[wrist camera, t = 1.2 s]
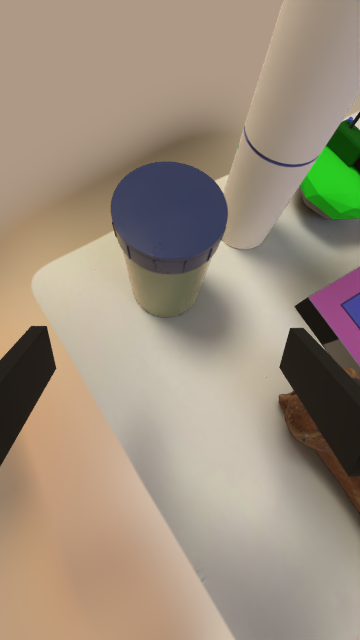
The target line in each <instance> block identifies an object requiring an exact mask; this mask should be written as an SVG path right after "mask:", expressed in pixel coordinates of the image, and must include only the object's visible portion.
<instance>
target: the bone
mask: <svg viewBox="0 0 360 640" xmlns="http://www.w3.org/2000/svg"><path fill="white" fill-rule="evenodd" d="M342 368H343V369H344V370H345V371H346V372H347V373H348V374H349V376H350V377H351V378H358V379H359V380H360V377H359V376H358V375H357V373H356V372H355V371H354V370H353V369H351V368H350V367H342ZM279 403H280V405H281V407H282V409H283V410H284V411H285V421H286V423H287V425H288V427H289V430H290V431H291V433H292V434H293V436H294V437H295V438H296V439H297V440H298V441H300V442H301V443H303V444H305V445H307V446H309V447H311V448H312V449H314V450H315V451H316V453H317V454H318V455H319V457H320V458H321V459H322V460H323V462H324V463H325V464H326V465H327V467H328V468H329V469H330V470H331V472H332V473H333V474H334V476H335V477H336V479H337V480H338V482H339V483H340V485H341V486H342V488H343V489H344V491H345V492H346V494H347V495H348V497H349V498H350V500H351V501H352V503H353V504H354V506H355V507H356V509H357V510H358V511H359V513H360V476H356V477H348V475H347V474H346V472H345V470H344V469H343V467H342V466H341V464H340V462H339V461H338V459H337V458H336V456H335V455H334V453H333V451H332V450H331V448H330V447H329V445H328V444H327V442H326V440H325V439H324V437H323V436H322V434H321V432H320V431H319V429H318V428H317V426H316V425H315V423H314V421H313V420H312V418H311V417H310V415H309V413H308V412H307V410H306V409H305V407H304V406H303V404H302V402H301V401H300V399H299V398H298V396H297V395H296V393H295V391H293V392H291V393H289V394H281V395H279Z"/></svg>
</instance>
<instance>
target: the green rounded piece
mask: <svg viewBox="0 0 360 640" xmlns="http://www.w3.org/2000/svg"><path fill="white" fill-rule="evenodd" d="M359 118H360V112H359V113H358V115H357V116H356V118H355V119H354V120H353V118H352V117H350V118H349V119H347V120H345V121H343V122H341V123H340V125H339V126H338V128H337V129H336V131H335V132H334V134H333V135H332V137H331V138H330V140H329V141H328V143H327V145H326V146H325V148H324V149H323V151H322V152H321V154H320V155H319V157H318V158H317V160H316V161H315V163H314V164H313V166H312V167H311V169H310V171H309V172H308V174H307V175H306V177H305V178H304V180H303V181H302V183H301V184H300V186H299V188H300V191H301V194H302V197H303V200H304V203H305V205H307V206H308V207H309V208H311V209H312V210H314V211H315V212H316V213H318V214H319V215H320V216H322V217H323V218H325V219H359V218H360V130H359V129H358V128H357V127H356V126H355V124H356V122H357V121H358V119H359Z"/></svg>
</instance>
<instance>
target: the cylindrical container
mask: <svg viewBox="0 0 360 640" xmlns="http://www.w3.org/2000/svg"><path fill="white" fill-rule="evenodd" d="M359 94H360V0H283V3H282V6H281V9H280V12H279V15H278V19H277V22H276V25H275V28H274V32H273V35H272V38H271V41H270V45H269V48H268V51H267V54H266V58H265V61H264V64H263V67H262V70H261V74H260V77H259V80H258V83H257V86H256V90H255V93H254V96H253V99H252V103H251V106H250V109H249V112H248V116H247V119H246V122H245V125H244V129H243V132H242V135H241V139H240V142H239V145H238V148H237V151H236V155H235V158H234V161H233V164H232V168H231V171H230V174H229V177H228V180H227V184H226V187H225V190H224V193H223V194H224V196H225V199H226V202H227V208H228V219H227V224H226V229H225V232H224V235H223V237H222V240H223V241H224V242H225V243H226V244H228V245H230V246H231V247H234V248H238V249H251V248H254V247H256V246H258V245H260V244H261V243H262V242H263V241H264V239H265V238H266V236H267V235H268V233H269V232H270V230H271V229H272V227H273V226H274V224H275V223H276V221H277V219H278V218H279V216H280V215H281V213H282V212H283V210H284V209H285V207H286V206H287V204H288V203H289V201H290V200H291V198H292V197H293V195H294V194H295V192H296V190H297V189H298V187H299V186H300V184H301V183H302V181H303V180H304V178H305V177H306V175H307V174H308V172H309V171H310V169H311V167H312V166H313V164H314V163H315V161H316V160H317V158H318V157H319V155H320V154H321V152H322V151H323V149H324V148H325V146H326V145H327V143H328V141H329V140H330V138H331V137H332V135H333V134H334V132H335V131H336V129H337V128H338V126H339V125H340V123H341V122H342V120H343V119H344V117H345V116H346V114H347V112H348V111H349V109H350V108H351V106H352V105H353V103H354V102H355V100H356V98H357V97H358V96H359Z"/></svg>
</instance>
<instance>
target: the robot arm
mask: <svg viewBox="0 0 360 640" xmlns="http://www.w3.org/2000/svg"><path fill="white" fill-rule="evenodd" d="M279 368H280V369H281V371H282V372H283V374H284V376H285V377H286V379H287V380H288V382H289V383H290V385H291V387H292V388H293V390H294V391H295V393H296V395H297V396H298V398H299V399H300V401H301V402H302V404H303V406H304V407H305V409H306V410H307V412H308V413H309V415H310V417H311V418H312V420H313V421H314V423H315V425H316V426H317V428H318V429H319V431H320V432H321V434H322V436H323V437H324V439H325V440H326V442H327V444H328V445H329V447H330V448H331V450H332V451H333V453H334V455H335V456H336V458H337V459H338V461H339V462H340V464H341V466H342V467H343V469H344V470H345V472H346V474H347V475H348V477H356V476H360V380H359V379H358V378H351V377H350V376H349V374H348V373H347V372H346V371H345V370H344V369H343V368H342V367H341V366H340V365H339V364H338V363H337V362H336V361H335V360H334V359H333V358H332V357H331V356H330V355H329V354H328V353H327V352H326V351H325V350H324V349H323V348H322V347H321V346H320V345H319V344H318V343H317V341H316V340H315V339H314V338H313V337H312V336H311V335H310V334H309V333H308V332H307V331H306V330H305V329H304V328H290V331H289V334H288V338H287V342H286V345H285V349H284V353H283V356H282V360H281V363H280V367H279ZM55 370H56V365H55V361H54V357H53V352H52V348H51V343H50V339H49V334H48V330H47V326H31V327H30V328H29V329H28V331H26V333H25V334H24V335H23V336H22V337H21V338H20V339H19V340H18V342H16V344H15V345H14V346H13V347H12V348H11V349H10V350H9V351H8V352H7V353H6V354H5V356H4V357H3V358H2V359H1V360H0V465H1V464H2V462H3V460H4V459H5V457H6V455H7V454H8V452H9V450H10V448H11V446H12V445H13V443H14V441H15V440H16V438H17V436H18V434H19V433H20V431H21V429H22V427H23V426H24V424H25V422H26V420H27V419H28V417H29V415H30V413H31V412H32V410H33V408H34V406H35V405H36V403H37V401H38V399H39V398H40V396H41V394H42V392H43V391H44V389H45V387H46V385H47V384H48V382H49V380H50V378H51V376H52V375H53V373H54V371H55Z"/></svg>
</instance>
